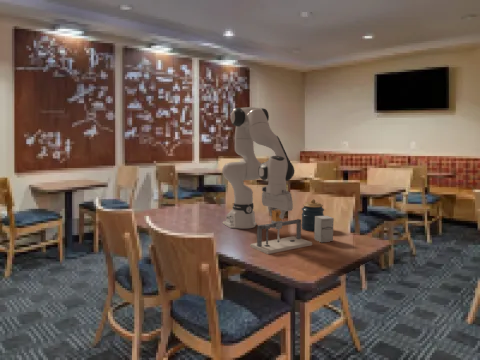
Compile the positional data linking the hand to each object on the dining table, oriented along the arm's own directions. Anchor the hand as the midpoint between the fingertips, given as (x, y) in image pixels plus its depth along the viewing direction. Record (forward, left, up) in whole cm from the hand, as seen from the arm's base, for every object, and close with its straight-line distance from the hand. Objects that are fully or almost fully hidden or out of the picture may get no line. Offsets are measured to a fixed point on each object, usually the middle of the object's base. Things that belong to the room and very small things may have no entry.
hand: (276, 217), depth 196 cm
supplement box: (+6, +27, -15) cm, 31 cm away
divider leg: (0, 0, -12) cm, 12 cm away
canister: (-17, +40, -15) cm, 46 cm away
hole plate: (+2, +2, -15) cm, 15 cm away
